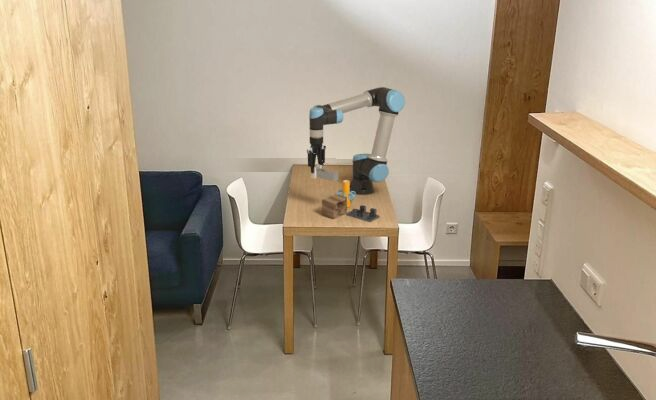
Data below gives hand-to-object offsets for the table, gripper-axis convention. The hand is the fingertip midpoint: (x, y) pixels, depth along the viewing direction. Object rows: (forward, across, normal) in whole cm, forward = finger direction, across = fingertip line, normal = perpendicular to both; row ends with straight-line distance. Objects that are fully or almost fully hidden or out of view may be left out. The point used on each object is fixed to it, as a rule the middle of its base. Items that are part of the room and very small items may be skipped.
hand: (316, 177), depth 344 cm
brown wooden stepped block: (+18, +2, +15) cm, 24 cm away
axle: (-1, 0, +7) cm, 7 cm away
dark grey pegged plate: (+18, -7, +27) cm, 33 cm away
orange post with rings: (+19, -13, +11) cm, 25 cm away
